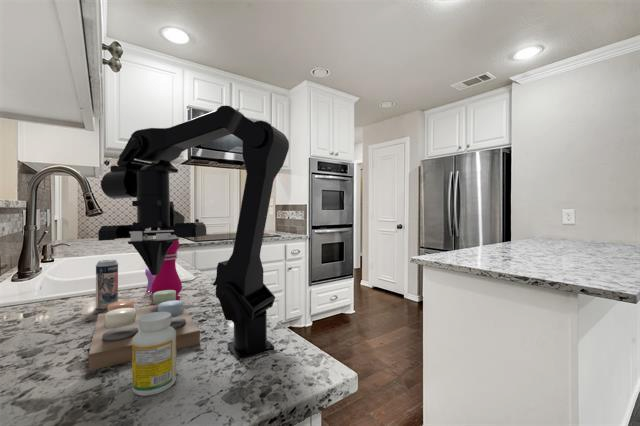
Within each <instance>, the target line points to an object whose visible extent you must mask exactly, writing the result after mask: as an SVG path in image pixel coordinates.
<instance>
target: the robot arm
mask: <svg viewBox="0 0 640 426" xmlns="http://www.w3.org/2000/svg"><path fill="white" fill-rule="evenodd" d="M229 135H230V136H231V135H233V136H234V137H236V138H237V139H239V140H240V141H242V147H241V149H242V150H241V151H242V152H241V155H242V160H243V164H244V167H245V168H244V169H245V171H246V175H245V176H246V177H245V182H244V188H243V193H242V197H241V198H242V199H241V203H240V204H241V205H240V211H239V215H238V221H237V226H236V227H237V228H236V231H235V232H236V233H235V238H234V244H233V249H232V253H231V254H230V257H229V258H228V260H224V261H220V262H218V264H217V266H216V276H215V280H214V282H213V284H212V286H213V287H215V297H216V298H217V299H218V301H219V304H220V307H221V311H222V313H223V317H224V320H225V321H230V322H232V323H233V341H228V342H227V348H228V349H229V350H230V352H232V354H233V355H234V356H235V357H236V358H237V359H238V360H243V359H247V358H250V357H252V356H257V355H260V354H264V353H267V352H271V351H274V350H275V345H274V344H272V342H270V341H269V339H268V338H267V337H268V336H267V335H268V332H267V331H268V327H267V322H268V321H267V320H268V318H267V316H268V314H267V312H268V311H267V310H269V309H270V308H273V305H274V303H275V300H276V296H275V295H274V293H273V292H272V291H271V290H270V289H269V288H268V287H267V286H266V285H265V283H264V266H263V263H262V259H261V250H262V246H263V240H264V234H265V229H266V224H267V219H268V212H269V208H270V203H271V202H270V201H271V196H272V191H273V188H274V187H273V185H274V181H275V179H276V177H277V176H278V174H279V172H280V171H281V169H282V168H283V167H284V163H285V161H286V158H287V155H288V152H289V149H290V142H289V139H288V138H287V136H286V135H285V134H284V133H283V132H282V131H281V130H279V129H277V128H276V127H274V126H273V125H272V124H270V123H269V122H268V121H264V120H255V121H252V120H251V119H249V118H248V117H246V116H245V115H244V114H243V113H242V112H240V111H238V110H237V109H235V108H234V107H232V106H231V105H220V106H219V107H217V109H215V110H213V111H211V112H208V113H205V114H202V115H200V116H197V117H195V118H191V119H189V120H187V121H184V122H181V123H179V124H176V125H173V126H170V127H162V128H161V127H160V128H159V127H149V128H148V127H147V128H142V129H137V130H135V131H134V132H132V134H131V135H130V137H129V139H128V140H127V142H126V145H125V146H124V148H123V150H122V152H121V153H120V155H118V157H119V159H118V160H117V162H116V165H111V166H110V171H109V172H106V173H105V174H104V175H103V177H102V179H101V181H100V188H101V191H102V193H103V194H104V195H105V196H107V197H108V198H109V199H113V200H114V199H115V200H120V199H131V198H132V199H134V198H136V200H132V201H131V204H132V207H136V222H132V224H124V225H123V224H121V225H119V224H118V225H117V224H116V225H101V226H100V228H99V230H98V231H97V240H98V241H115V240H119V239H130V240H128V241H127V244H128V245H132V246H133V247H134V249H135V250H136V252H137V253H138V254H139V256H140V257H141V259H142V260H143V262H144V264H145V265H146V268H148V269H149V271H150V272H151V274H152V275H158V274H159V273H160V270H161V267H162V264H163V261H164V259H165V256H166V253H167V251H168V249H169V247H170V246H171V245H172V244H173V242H174V241H180V239H181V238H184V239H185V238H197V237H203V236H207V226H206V225H205V223H204V222H202V221H200V222H198V221H197V222H185V219H186V217H185V216H184V215H183V214H182V213H180V212H179V211H177V210H175V205H174V201H171V199H170V198H171V197H170V196H171V195H170V174H177V173H178V172H179V169H178V168H177V167H175V166H174V165H173V164H172V163H171V162H173V161H175V160H177V159H178V158H179V157H180V156H181V154H182V153H183V152H185V151H186V150H188V149H192V148H195V147H197V146H200V145H203V144H207V143H209V142H213V141H216V140H218V139H221V138H224V137H227V136H229ZM149 229H150V230H149ZM154 236H155V237H156V238H154Z"/></svg>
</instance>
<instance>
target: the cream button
mask: <svg viewBox="0 0 640 426" xmlns="http://www.w3.org/2000/svg"><path fill="white" fill-rule="evenodd" d="M105 313H106V314H105V326H106V327H108V328H117V327H123V326H127V325H130V324H132V323H134V322H135V307H134V308H121V309H116V310H112V311H109V312H108V311H107V312H105Z"/></svg>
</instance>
